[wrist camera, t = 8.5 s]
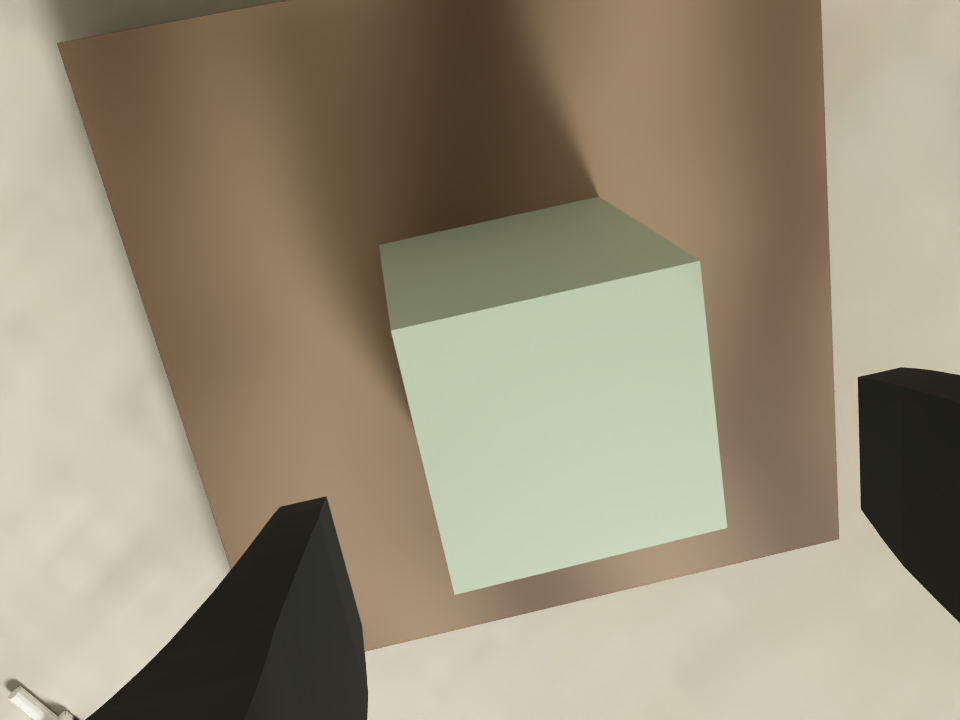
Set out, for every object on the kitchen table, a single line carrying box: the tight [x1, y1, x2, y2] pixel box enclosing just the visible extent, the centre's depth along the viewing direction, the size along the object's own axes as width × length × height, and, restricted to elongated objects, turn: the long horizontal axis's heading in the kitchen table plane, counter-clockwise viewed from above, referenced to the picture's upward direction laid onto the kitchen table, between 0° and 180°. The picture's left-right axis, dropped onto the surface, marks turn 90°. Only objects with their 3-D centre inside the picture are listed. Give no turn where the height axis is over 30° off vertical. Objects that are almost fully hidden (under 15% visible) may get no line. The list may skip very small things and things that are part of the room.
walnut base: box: [57, 0, 839, 651], centre depth 19 cm, size 14×14×2 cm
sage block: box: [379, 197, 727, 595], centre depth 16 cm, size 4×4×6 cm
